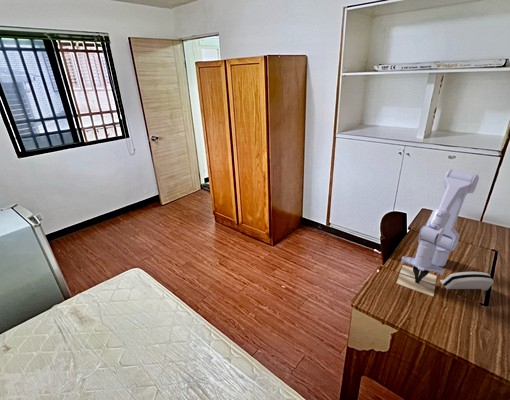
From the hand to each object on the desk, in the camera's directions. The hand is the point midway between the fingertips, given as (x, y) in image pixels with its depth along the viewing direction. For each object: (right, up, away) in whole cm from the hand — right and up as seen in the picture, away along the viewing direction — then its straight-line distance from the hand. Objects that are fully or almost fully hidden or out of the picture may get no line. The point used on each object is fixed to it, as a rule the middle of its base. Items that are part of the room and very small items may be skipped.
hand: (417, 281), depth 112 cm
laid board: (+3, +1, +4) cm, 5 cm away
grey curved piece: (+18, -2, -2) cm, 18 cm away
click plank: (-1, -2, -1) cm, 3 cm away
